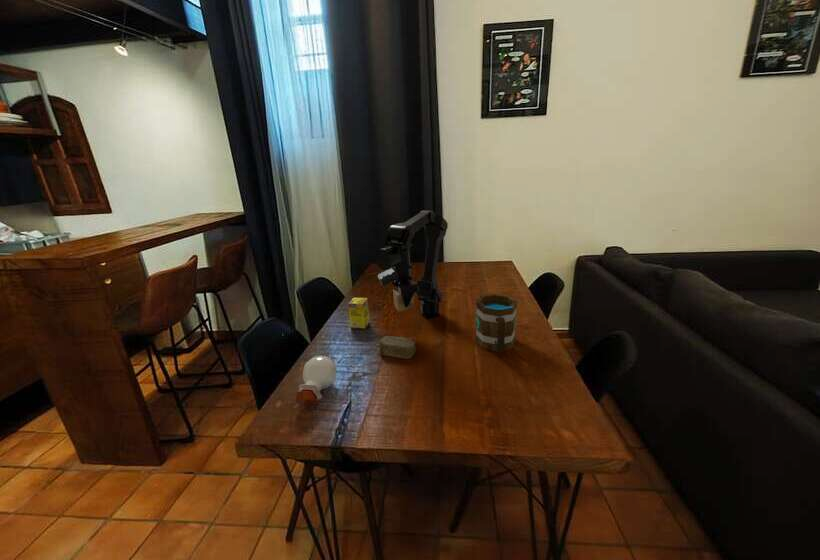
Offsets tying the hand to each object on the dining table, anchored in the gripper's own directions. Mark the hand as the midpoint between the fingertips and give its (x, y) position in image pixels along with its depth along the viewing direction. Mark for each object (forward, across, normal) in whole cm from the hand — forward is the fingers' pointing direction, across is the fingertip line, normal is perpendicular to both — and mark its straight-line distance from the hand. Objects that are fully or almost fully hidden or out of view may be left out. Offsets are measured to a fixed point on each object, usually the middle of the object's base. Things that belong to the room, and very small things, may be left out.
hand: (404, 303), depth 123 cm
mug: (+12, +20, +26) cm, 35 cm away
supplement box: (+12, -12, -15) cm, 23 cm away
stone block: (+12, +12, -6) cm, 19 cm away
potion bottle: (+12, +24, -32) cm, 42 cm away
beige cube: (+1, 0, 0) cm, 1 cm away
